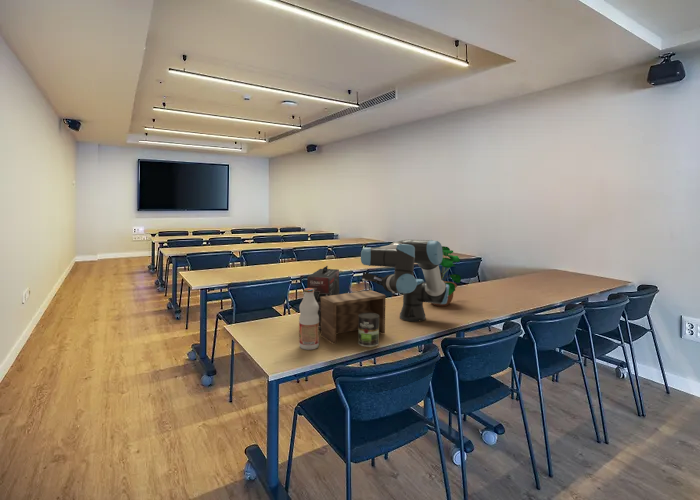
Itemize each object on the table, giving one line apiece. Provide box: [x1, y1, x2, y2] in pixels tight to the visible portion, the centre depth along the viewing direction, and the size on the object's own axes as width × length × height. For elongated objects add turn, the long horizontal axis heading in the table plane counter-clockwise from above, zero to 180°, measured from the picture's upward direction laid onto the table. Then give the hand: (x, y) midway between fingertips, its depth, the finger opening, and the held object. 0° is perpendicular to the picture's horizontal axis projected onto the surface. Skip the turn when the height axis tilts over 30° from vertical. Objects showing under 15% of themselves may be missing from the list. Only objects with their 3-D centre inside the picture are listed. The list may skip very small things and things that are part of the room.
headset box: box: [306, 265, 340, 332], centre depth 216 cm, size 24×13×33 cm, turn 168°
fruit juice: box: [298, 288, 320, 351], centre depth 182 cm, size 9×9×28 cm
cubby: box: [320, 289, 386, 345], centre depth 200 cm, size 31×14×20 cm, turn 121°
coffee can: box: [357, 312, 380, 348], centre depth 188 cm, size 10×10×14 cm
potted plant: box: [432, 245, 462, 307], centre depth 259 cm, size 31×29×40 cm
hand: (376, 282), depth 184 cm, fingers open, 13 cm apart
